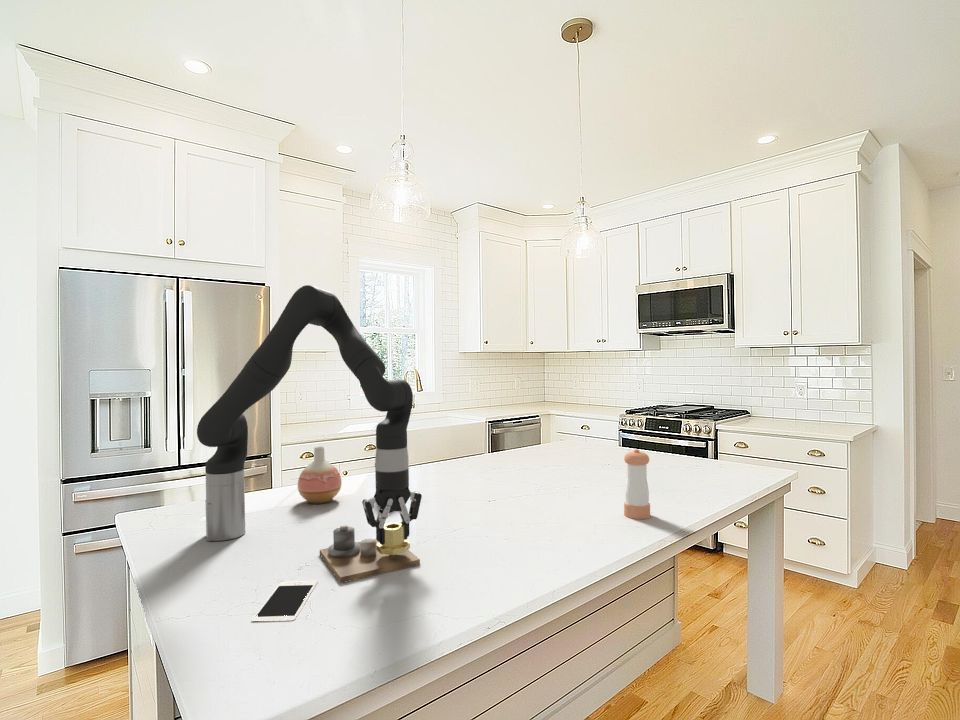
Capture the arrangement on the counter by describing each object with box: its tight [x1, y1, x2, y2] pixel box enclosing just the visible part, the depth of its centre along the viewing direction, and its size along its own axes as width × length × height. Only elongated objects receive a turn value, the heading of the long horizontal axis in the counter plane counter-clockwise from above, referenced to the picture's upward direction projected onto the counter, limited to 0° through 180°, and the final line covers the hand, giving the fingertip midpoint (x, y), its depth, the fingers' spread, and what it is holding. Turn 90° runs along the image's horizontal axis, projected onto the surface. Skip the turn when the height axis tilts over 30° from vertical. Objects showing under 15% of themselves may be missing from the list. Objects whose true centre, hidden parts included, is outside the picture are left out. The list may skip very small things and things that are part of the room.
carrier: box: [319, 525, 421, 584], centre depth 121 cm, size 18×18×7 cm
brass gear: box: [376, 522, 411, 555], centre depth 120 cm, size 7×7×5 cm
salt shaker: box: [623, 448, 651, 520], centre depth 151 cm, size 7×7×19 cm
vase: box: [297, 446, 343, 505], centre depth 170 cm, size 14×14×18 cm
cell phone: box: [254, 580, 319, 621], centre depth 102 cm, size 8×16×1 cm, turn 2°
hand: (393, 540), depth 120 cm, fingers closed on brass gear, 4 cm apart
